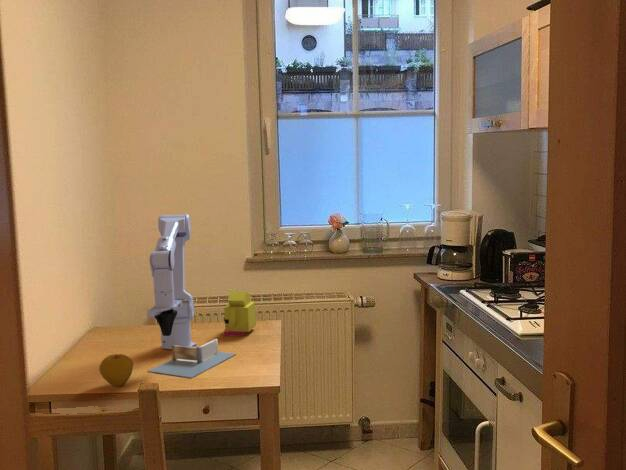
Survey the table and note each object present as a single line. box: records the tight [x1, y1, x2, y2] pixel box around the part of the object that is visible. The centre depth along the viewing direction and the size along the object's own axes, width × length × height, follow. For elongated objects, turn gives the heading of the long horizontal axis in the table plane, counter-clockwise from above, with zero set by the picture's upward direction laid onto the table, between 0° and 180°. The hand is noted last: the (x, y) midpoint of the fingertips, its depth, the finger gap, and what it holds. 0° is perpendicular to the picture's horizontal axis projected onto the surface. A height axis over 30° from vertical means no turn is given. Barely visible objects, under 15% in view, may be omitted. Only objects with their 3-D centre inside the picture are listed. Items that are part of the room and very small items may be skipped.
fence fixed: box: [195, 338, 219, 363], centre depth 201 cm, size 1×10×5 cm, turn 154°
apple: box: [98, 353, 134, 387], centre depth 180 cm, size 9×9×9 cm
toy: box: [223, 290, 257, 337], centre depth 230 cm, size 13×10×15 cm
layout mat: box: [147, 351, 237, 379], centre depth 198 cm, size 16×23×1 cm
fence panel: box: [171, 345, 197, 361], centre depth 199 cm, size 8×1×5 cm, turn 70°
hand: (166, 335), depth 193 cm, fingers closed
